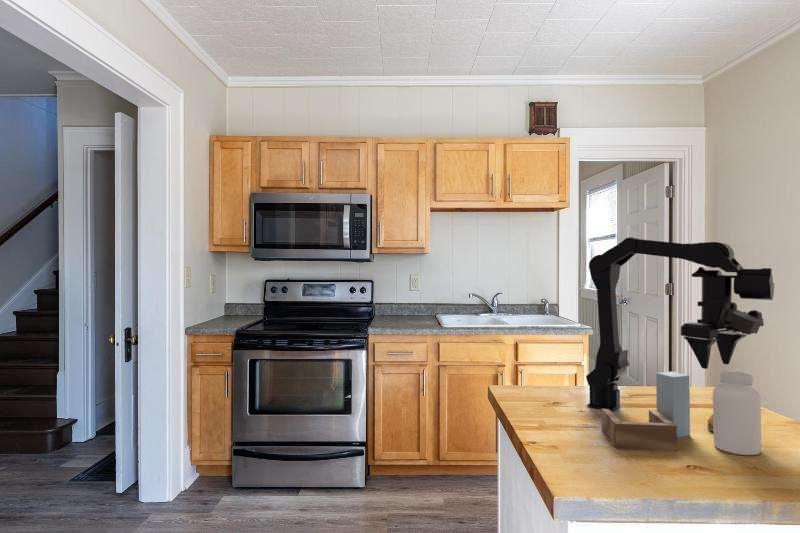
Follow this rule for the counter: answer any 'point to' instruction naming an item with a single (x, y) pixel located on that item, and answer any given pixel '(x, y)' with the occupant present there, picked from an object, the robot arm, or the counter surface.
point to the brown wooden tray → (640, 432)
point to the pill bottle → (737, 415)
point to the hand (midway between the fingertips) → (715, 366)
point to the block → (674, 399)
